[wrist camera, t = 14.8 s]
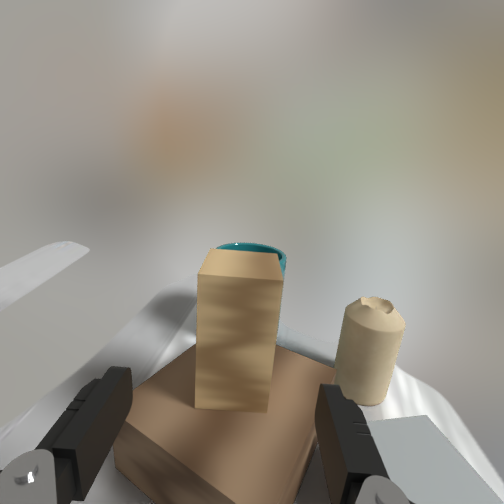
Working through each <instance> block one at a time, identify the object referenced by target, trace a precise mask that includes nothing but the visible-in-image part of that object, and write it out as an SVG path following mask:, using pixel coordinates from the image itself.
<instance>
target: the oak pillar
mask: <svg viewBox="0 0 504 504" xmlns="http://www.w3.org/2000/svg"><path fill="white" fill-rule="evenodd" d="M283 281H284V280H283V276H282V272H281V268H280V263H279V259H278V255H277V254H275V253H262V252H250V251H237V250H224V249H210V251H209V252H208V255H207V257H206V259H205V260H204V263H203V264H202V267H201V268H200V270H199V272H198V285H197V329H196V374H195V408H198V409H212V410H226V411H240V412H255V413H267V410H268V402H269V394H270V386H271V378H272V370H273V362H274V354H275V346H276V338H277V330H278V322H279V313H280V305H281V297H282V289H283Z"/></svg>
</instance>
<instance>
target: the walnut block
mask: <svg viewBox="0 0 504 504" xmlns="http://www.w3.org/2000/svg"><path fill="white" fill-rule="evenodd" d="M336 371H337V369H334V368H332V367H329V366H327V365H324V364H322V363H320V362H317V361H315V360H312V359H310V358H307V357H305V356H302V355H300V354H298V353H295V352H293V351H290V350H288V349H285V348H283V347H280V346H278V345H276V346H275V354H274V362H273V370H272V378H271V386H270V394H269V402H268V410H267V413H255V412H240V411H226V410H212V409H198V408H195V374H196V344H194V345H193V346H192V347H190V348H189V349H188V350H186V351H185V352H184V353H182V354H181V355H180V356H178V357H177V358H176V359H174V360H173V361H172V362H170V363H169V364H168V365H166V366H165V367H164V368H162V369H161V370H160V371H158V372H157V373H156V374H154V375H153V376H151V377H150V378H149V379H147V380H146V381H145V382H143V383H142V384H141V385H139V386H138V387H137V388H135V389H134V390H133V401H132V406H131V409H130V412H129V414H128V416H127V418H126V420H125V422H124V424H123V426H122V428H121V429H120V431H119V433H118V435H117V437H116V439H115V441H114V443H113V450H114V459H115V468H116V469H117V470H119V471H120V472H121V473H122V474H123V475H124V476H125V477H126V478H128V479H129V480H130V481H131V482H132V483H133V484H134V485H135V486H137V487H138V488H139V489H140V490H141V491H142V492H143V493H144V494H146V495H147V496H148V497H149V498H150V499H151V500H152V501H153V502H155V503H156V504H294V501H295V499H296V496H297V494H298V491H299V488H300V486H301V483H302V481H303V478H304V476H305V473H306V471H307V468H308V466H309V463H310V461H311V458H312V456H313V453H314V451H315V448H316V446H317V443H318V438H317V434H316V429H315V408H316V402H317V397H318V392H319V386H320V384H321V383H322V384H334V381H335V376H336Z"/></svg>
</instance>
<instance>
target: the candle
mask: <svg viewBox="0 0 504 504" xmlns="http://www.w3.org/2000/svg"><path fill="white" fill-rule="evenodd" d="M405 325H406V324H405V321H404V320H403V318H402V317H401V315H400V314H399V313H398V311H397V310H396V309H395V308H394V306H393V305H392V303H391V302H390V301H388V300H384V299H381V298H378V297H371V298H366V297H361V298H360V299H358V300H356V301H355V302H353V303H351V304H349V305H348V306H347V307H346V309H345V313H344V318H343V324H342V329H341V334H340V339H339V344H338V349H337V354H336V359H335V364H334V369H337V371H336V376H335V381H334V384H335V385H339V386H340V388H341V390H342V393H343V396H344V397H345V398H346V399H352V400H353V401H354V402H355V403H356V404H360V405H364V406H375V405H378V404H380V403H381V402H383V400H384V399H385V397H386V394H387V391H388V387H389V384H390V380H391V377H392V373H393V369H394V366H395V362H396V359H397V355H398V351H399V348H400V344H401V340H402V337H403V333H404V329H405Z"/></svg>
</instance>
